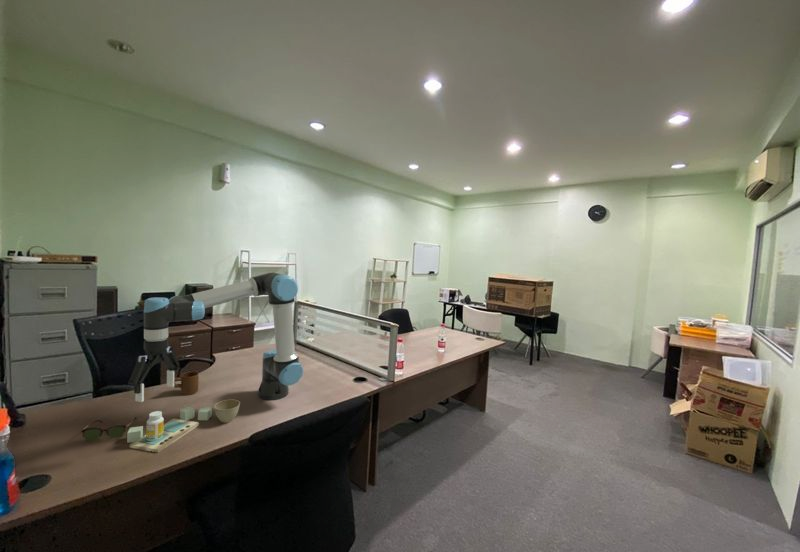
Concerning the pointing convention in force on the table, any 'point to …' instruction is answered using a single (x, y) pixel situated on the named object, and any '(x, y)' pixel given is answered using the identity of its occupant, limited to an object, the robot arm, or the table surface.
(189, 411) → the block
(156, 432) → the supplement bottle
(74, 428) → the table surface
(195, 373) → the mug
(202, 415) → the block
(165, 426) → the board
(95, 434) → the sunglasses
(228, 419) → the beige bowl
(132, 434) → the block
